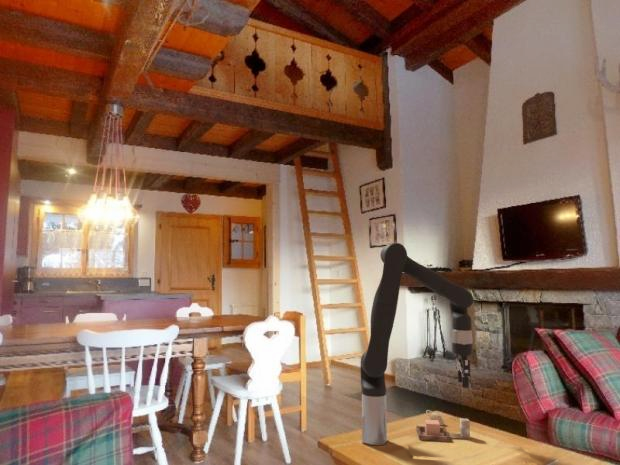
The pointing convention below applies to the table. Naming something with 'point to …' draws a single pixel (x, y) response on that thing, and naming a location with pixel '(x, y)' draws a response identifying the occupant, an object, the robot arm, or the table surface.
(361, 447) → the table surface
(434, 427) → the terracotta cube
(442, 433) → the tray
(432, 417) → the decorative ornament
